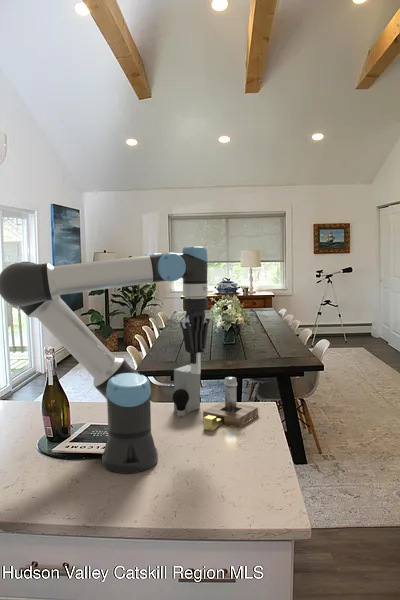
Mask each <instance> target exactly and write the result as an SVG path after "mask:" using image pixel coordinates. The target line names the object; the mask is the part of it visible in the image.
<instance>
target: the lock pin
mask: <svg viewBox="0 0 400 600" xmlns="http://www.w3.org/2000/svg"><path fill="white" fill-rule="evenodd" d="M222 425H224V417H220V416H219V417H215V416H210V415H208V416H206V417H204V420H203V430H206V431H210V432H212V431H215V430H216V429H218V427H220V426H222Z"/></svg>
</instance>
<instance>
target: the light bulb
mask: <svg viewBox="0 0 400 600" xmlns="http://www.w3.org/2000/svg"><path fill="white" fill-rule="evenodd" d="M171 397H172V402H173V404H174V403H175V405H176V407H177V411H176V412H177V416H178V417H179V418H182V417H184V416H185V413H184V412H185V407H186V404H187V403H188V401H189V394H188V392H187V391H186V390H184V389H178V390H176V391H175V392H174V391H173V393H172V396H171Z"/></svg>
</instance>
